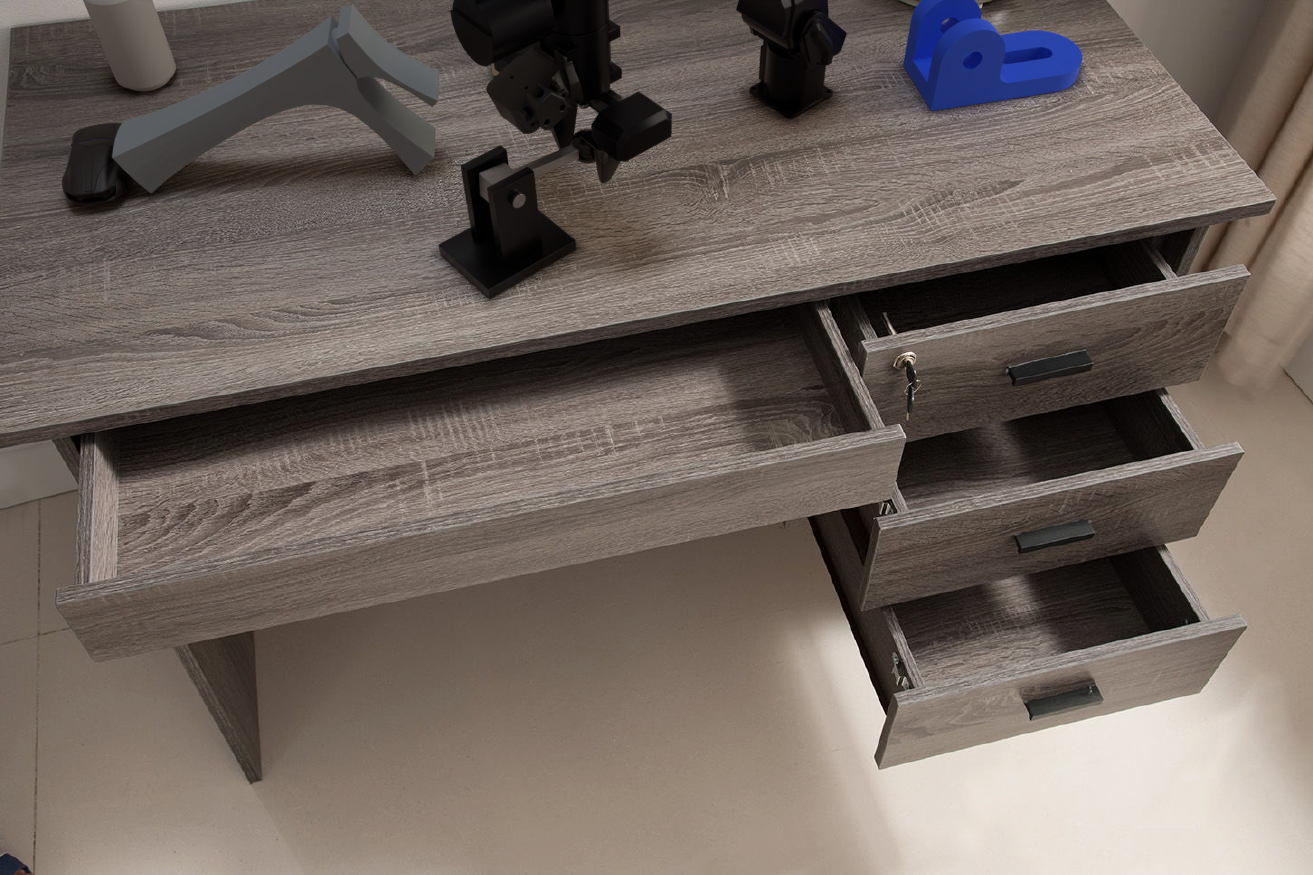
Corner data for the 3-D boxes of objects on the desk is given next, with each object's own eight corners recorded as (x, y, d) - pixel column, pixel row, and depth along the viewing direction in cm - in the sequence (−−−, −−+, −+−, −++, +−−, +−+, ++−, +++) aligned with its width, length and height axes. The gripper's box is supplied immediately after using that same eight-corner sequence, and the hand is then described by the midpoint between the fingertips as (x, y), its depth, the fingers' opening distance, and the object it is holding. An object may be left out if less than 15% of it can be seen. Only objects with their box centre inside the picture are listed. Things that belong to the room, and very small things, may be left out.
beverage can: (124, 101, 130) (82, -1, 121) (111, 70, 134) (69, -32, 124) (184, 84, 132) (147, -18, 123) (170, 54, 135) (133, -48, 126)
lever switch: (525, 207, 119) (515, 124, 111) (576, 250, 115) (570, 166, 107) (439, 254, 115) (423, 170, 107) (489, 299, 111) (476, 216, 103)
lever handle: (590, 147, 116) (590, 117, 114) (611, 163, 115) (612, 133, 112) (476, 196, 110) (474, 166, 108) (497, 214, 108) (496, 184, 106)
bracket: (931, 111, 128) (946, 35, 121) (903, 65, 133) (916, -10, 126) (1090, 86, 130) (1114, 10, 124) (1057, 42, 136) (1078, -33, 129)
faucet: (230, 268, 128) (474, 153, 119) (109, 157, 116) (371, 19, 107) (238, 229, 132) (475, 114, 123) (121, 117, 120) (375, -19, 111)
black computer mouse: (141, 134, 127) (128, 103, 124) (127, 210, 119) (113, 179, 116) (83, 140, 126) (69, 109, 123) (66, 217, 119) (50, 186, 116)
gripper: (432, 5, 104) (457, 154, 116) (568, 106, 95) (579, 256, 107) (537, -42, 108) (550, 106, 121) (676, 51, 99) (675, 200, 112)
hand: (585, 165), depth 115 cm, fingers open, 6 cm apart
